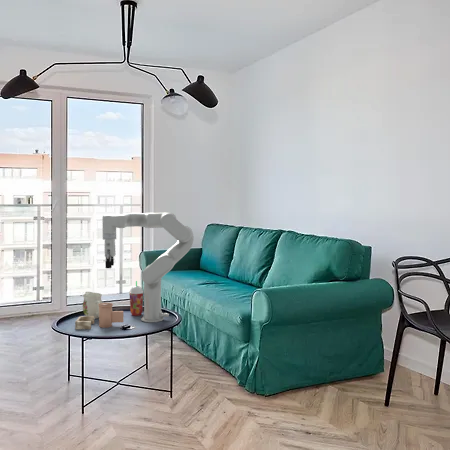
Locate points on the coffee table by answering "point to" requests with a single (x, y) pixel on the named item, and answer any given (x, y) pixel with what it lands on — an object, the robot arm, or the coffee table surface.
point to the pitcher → (91, 304)
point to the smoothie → (136, 300)
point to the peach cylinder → (109, 315)
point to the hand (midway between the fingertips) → (109, 266)
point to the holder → (84, 322)
